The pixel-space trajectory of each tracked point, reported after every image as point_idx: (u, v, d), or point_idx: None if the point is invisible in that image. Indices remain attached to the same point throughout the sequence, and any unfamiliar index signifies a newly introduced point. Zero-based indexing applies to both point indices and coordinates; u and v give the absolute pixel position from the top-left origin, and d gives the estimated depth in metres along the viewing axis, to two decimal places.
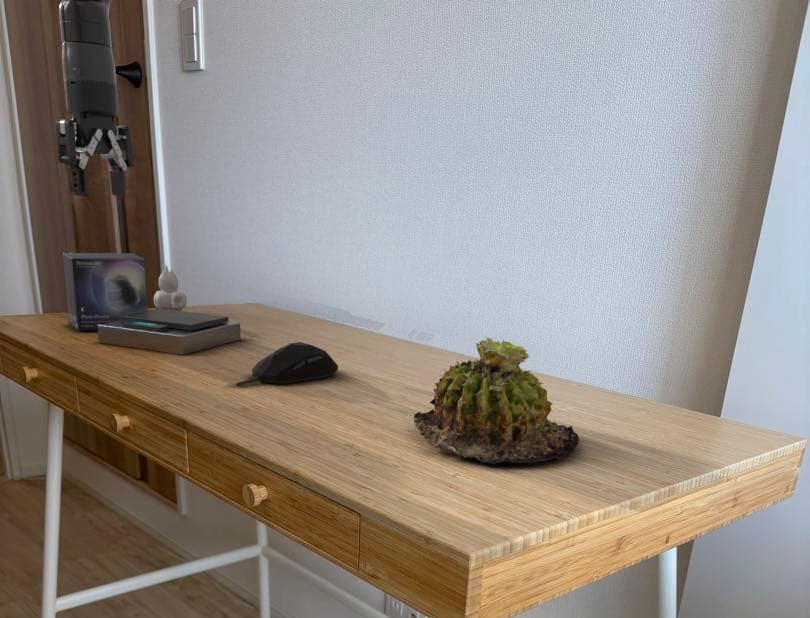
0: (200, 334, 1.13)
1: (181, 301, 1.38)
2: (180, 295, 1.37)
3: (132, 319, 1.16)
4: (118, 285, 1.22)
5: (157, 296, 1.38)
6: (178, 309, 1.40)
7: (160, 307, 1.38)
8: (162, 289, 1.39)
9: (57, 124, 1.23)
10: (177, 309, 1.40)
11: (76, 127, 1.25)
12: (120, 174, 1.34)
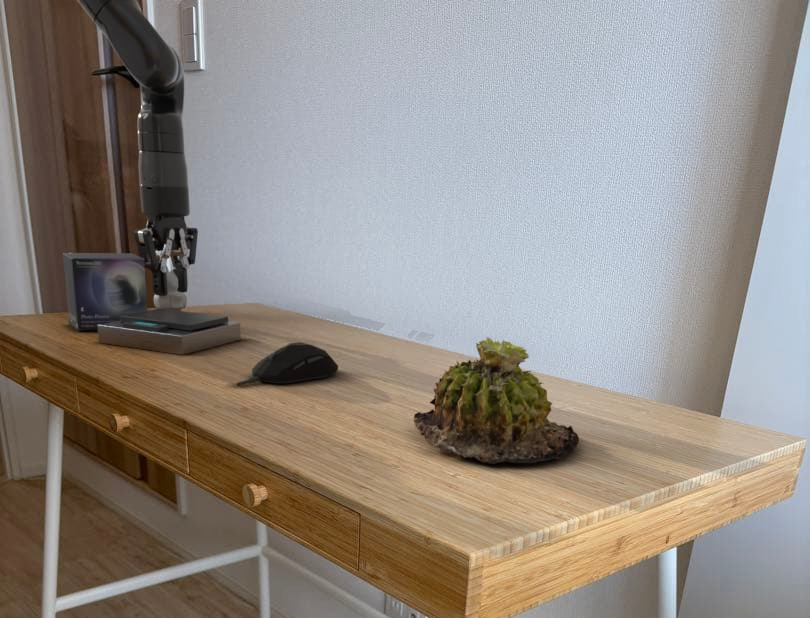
0: (200, 334, 1.13)
1: (181, 301, 1.38)
2: (180, 295, 1.37)
3: (132, 319, 1.16)
4: (118, 285, 1.22)
5: (157, 296, 1.38)
6: (178, 309, 1.40)
7: (160, 307, 1.38)
8: None
9: (136, 235, 1.30)
10: (177, 309, 1.40)
11: (152, 232, 1.32)
12: (183, 273, 1.40)
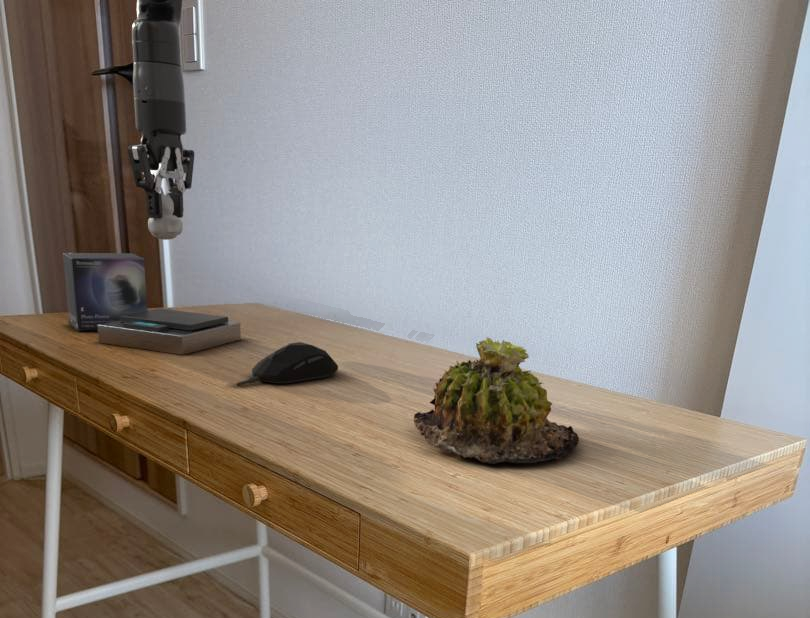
0: (200, 334, 1.13)
1: (177, 225, 1.32)
2: (176, 218, 1.31)
3: (132, 319, 1.16)
4: (118, 285, 1.22)
5: (152, 219, 1.32)
6: (173, 234, 1.34)
7: (155, 231, 1.32)
8: None
9: (130, 151, 1.25)
10: (172, 234, 1.34)
11: (147, 148, 1.26)
12: (179, 196, 1.34)
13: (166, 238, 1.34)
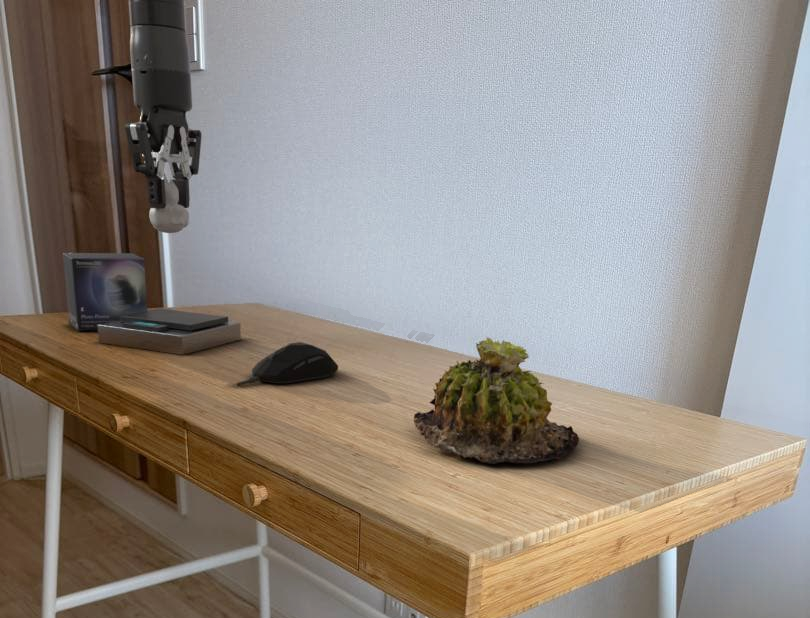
0: (200, 334, 1.13)
1: (182, 216, 1.15)
2: (181, 208, 1.14)
3: (132, 319, 1.16)
4: (118, 285, 1.22)
5: (154, 209, 1.15)
6: (179, 227, 1.17)
7: (157, 223, 1.15)
8: None
9: (127, 130, 1.07)
10: (178, 227, 1.17)
11: (147, 127, 1.09)
12: (184, 183, 1.17)
13: (170, 231, 1.17)
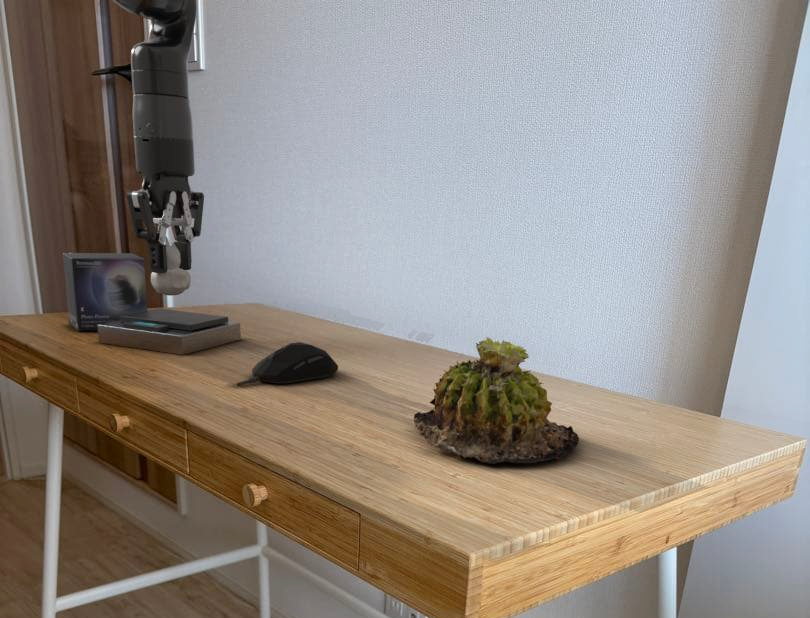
0: (200, 334, 1.13)
1: (184, 280, 1.14)
2: (183, 272, 1.14)
3: (132, 319, 1.16)
4: (118, 285, 1.22)
5: (156, 273, 1.14)
6: (180, 290, 1.16)
7: (159, 287, 1.15)
8: None
9: (129, 198, 1.07)
10: (179, 290, 1.16)
11: (149, 194, 1.08)
12: (186, 246, 1.16)
13: (172, 294, 1.16)
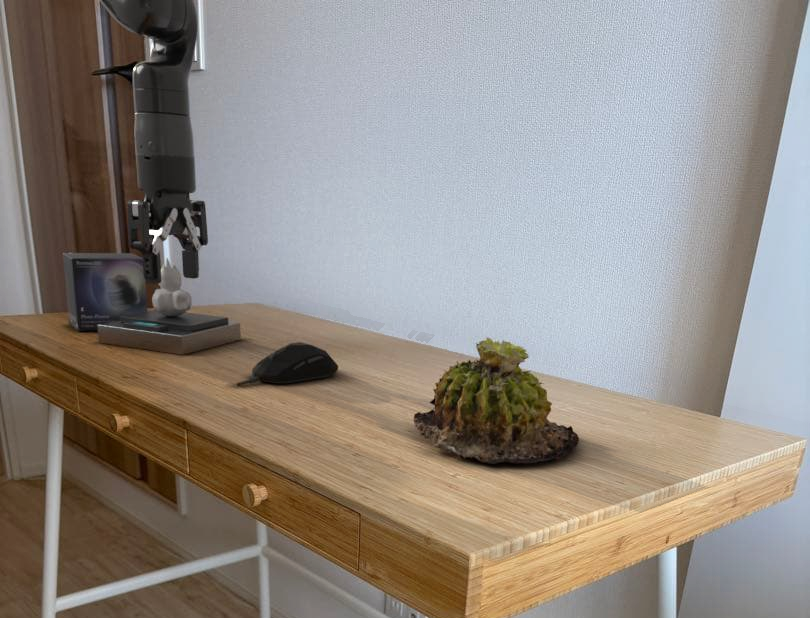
0: (200, 334, 1.13)
1: (185, 301, 1.16)
2: (184, 294, 1.15)
3: (132, 320, 1.16)
4: (118, 285, 1.22)
5: (157, 295, 1.15)
6: (181, 311, 1.17)
7: (160, 309, 1.16)
8: (162, 287, 1.16)
9: (129, 206, 1.07)
10: (180, 311, 1.17)
11: (150, 208, 1.09)
12: (194, 255, 1.18)
13: (173, 315, 1.17)
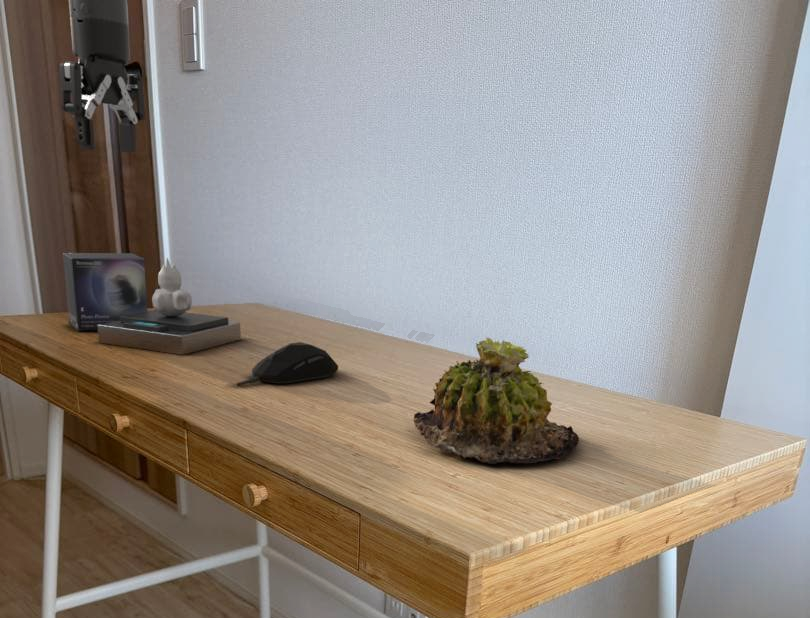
0: (200, 334, 1.13)
1: (185, 301, 1.16)
2: (184, 294, 1.15)
3: (132, 320, 1.16)
4: (118, 285, 1.22)
5: (157, 295, 1.15)
6: (181, 311, 1.17)
7: (160, 309, 1.16)
8: (162, 287, 1.16)
9: (61, 67, 1.10)
10: (180, 311, 1.17)
11: (83, 71, 1.12)
12: (130, 128, 1.21)
13: (173, 315, 1.17)
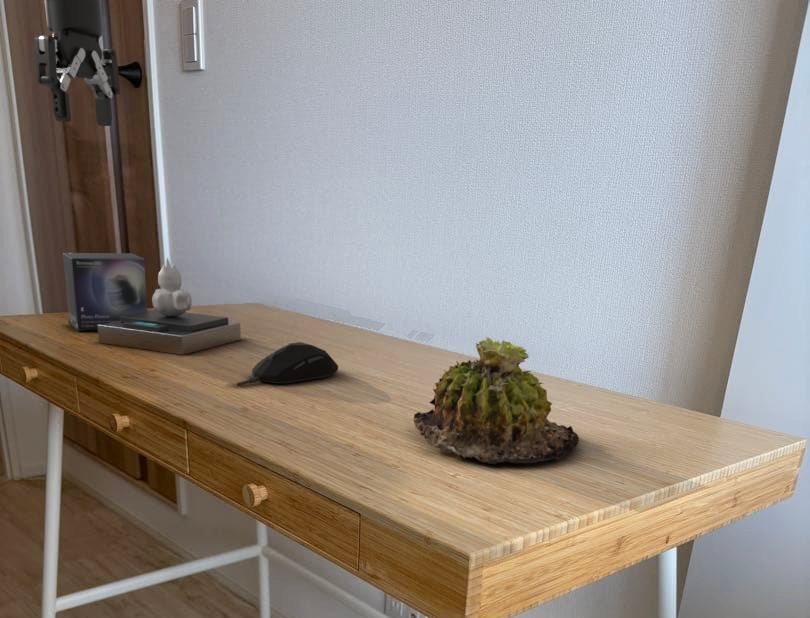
0: (200, 334, 1.13)
1: (185, 301, 1.16)
2: (184, 294, 1.15)
3: (132, 320, 1.16)
4: (118, 285, 1.22)
5: (157, 295, 1.15)
6: (181, 311, 1.17)
7: (160, 309, 1.16)
8: (162, 287, 1.16)
9: (36, 40, 1.14)
10: (180, 311, 1.17)
11: (57, 45, 1.15)
12: (105, 101, 1.25)
13: (173, 315, 1.17)
